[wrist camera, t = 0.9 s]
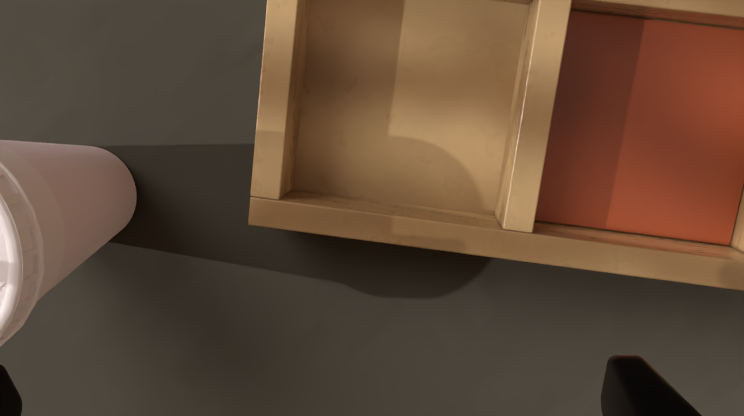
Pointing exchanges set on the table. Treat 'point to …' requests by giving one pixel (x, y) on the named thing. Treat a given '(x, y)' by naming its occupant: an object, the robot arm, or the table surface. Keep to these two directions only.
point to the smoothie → (54, 217)
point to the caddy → (510, 130)
